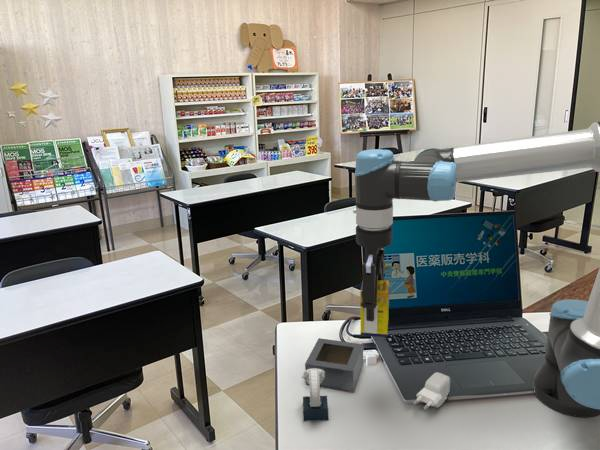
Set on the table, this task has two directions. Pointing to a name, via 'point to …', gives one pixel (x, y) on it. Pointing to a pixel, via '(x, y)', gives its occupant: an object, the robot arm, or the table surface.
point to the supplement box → (382, 309)
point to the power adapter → (434, 391)
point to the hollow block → (337, 363)
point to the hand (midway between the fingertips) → (373, 323)
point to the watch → (314, 397)
